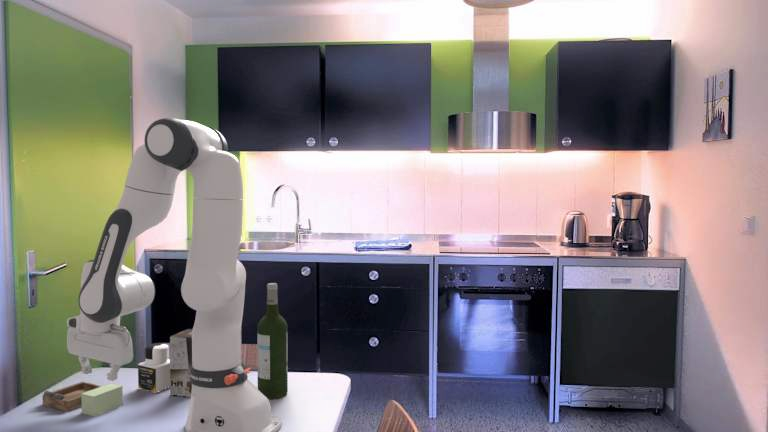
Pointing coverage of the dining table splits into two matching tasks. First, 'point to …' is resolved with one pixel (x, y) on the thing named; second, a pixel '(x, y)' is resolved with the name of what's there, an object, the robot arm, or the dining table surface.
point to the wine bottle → (272, 349)
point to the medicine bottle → (155, 368)
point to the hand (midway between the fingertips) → (99, 376)
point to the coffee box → (181, 363)
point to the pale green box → (102, 399)
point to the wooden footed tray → (67, 396)
